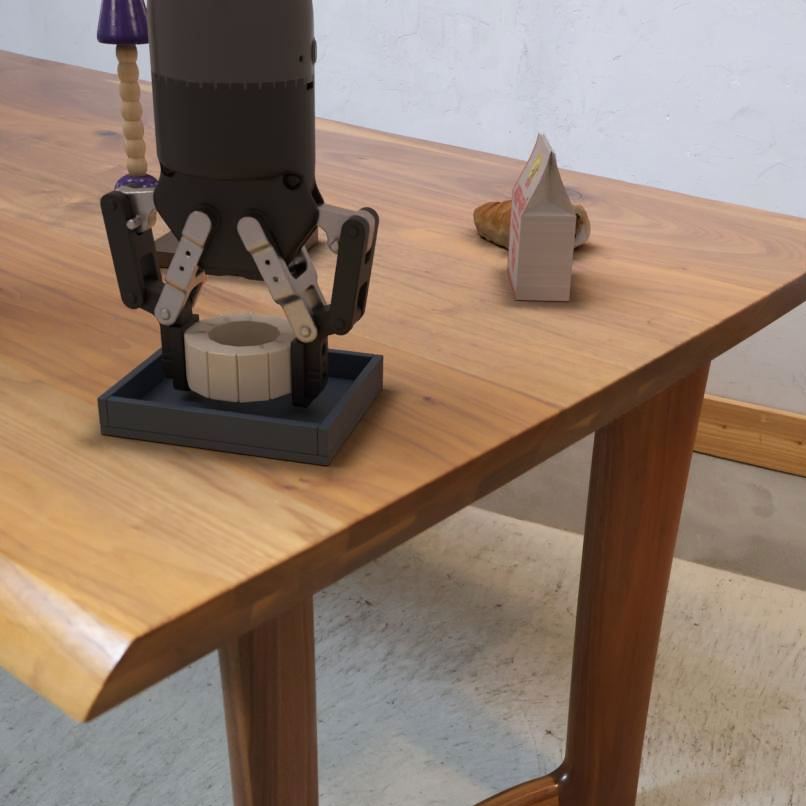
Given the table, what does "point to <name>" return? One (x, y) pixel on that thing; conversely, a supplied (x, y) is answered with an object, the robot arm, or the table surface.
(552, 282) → the milk carton
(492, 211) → the pastry
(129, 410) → the tray
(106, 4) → the toy lamp
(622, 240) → the table surface
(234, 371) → the ring
